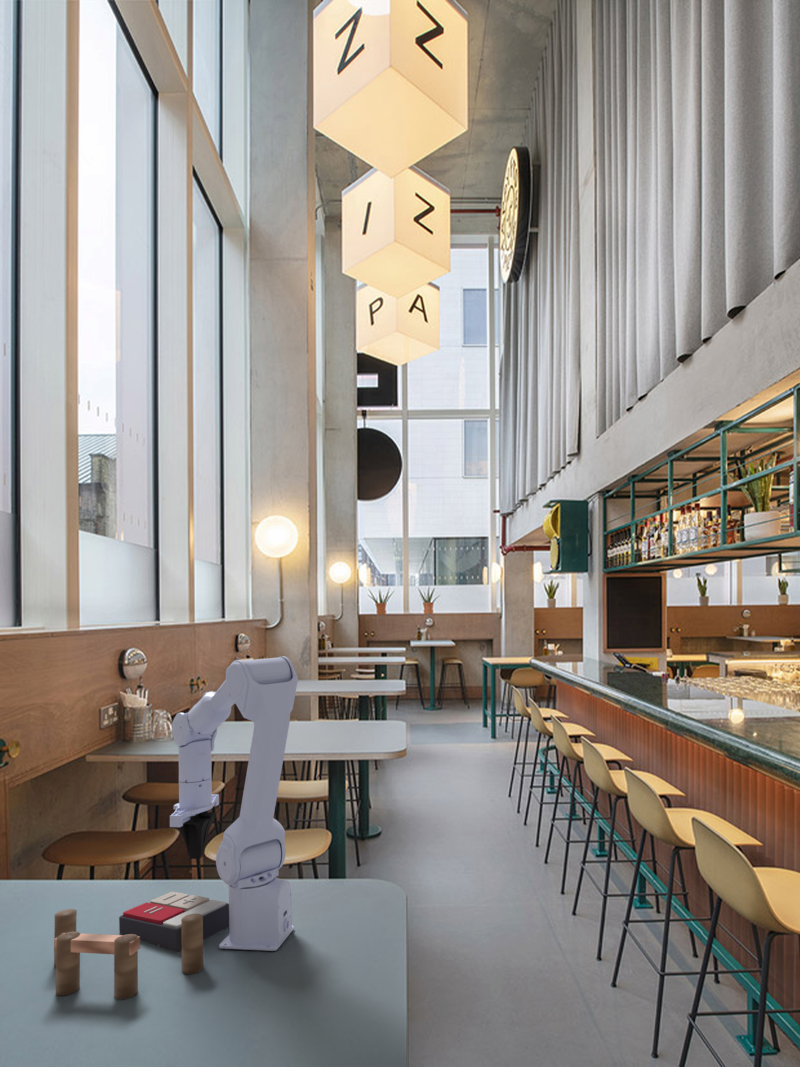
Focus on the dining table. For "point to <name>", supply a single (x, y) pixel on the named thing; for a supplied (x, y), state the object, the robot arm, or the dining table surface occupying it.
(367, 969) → the dining table surface
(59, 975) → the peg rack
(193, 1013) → the dining table surface
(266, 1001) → the dining table surface
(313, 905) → the dining table surface
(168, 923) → the calculator
